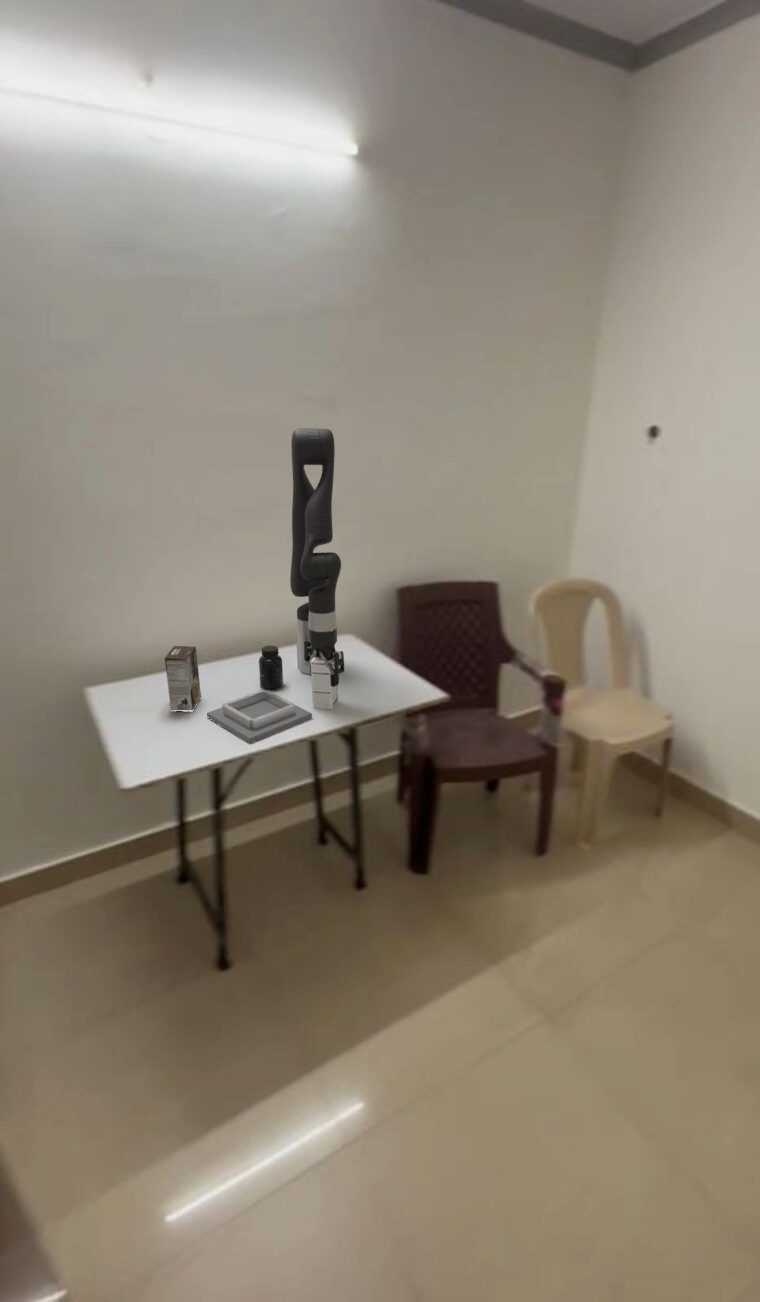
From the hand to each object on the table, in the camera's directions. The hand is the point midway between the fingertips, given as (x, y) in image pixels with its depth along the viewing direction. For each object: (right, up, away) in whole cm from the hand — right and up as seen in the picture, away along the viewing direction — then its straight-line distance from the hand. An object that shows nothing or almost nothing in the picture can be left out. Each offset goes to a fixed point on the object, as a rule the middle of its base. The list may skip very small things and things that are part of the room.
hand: (324, 681), depth 201 cm
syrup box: (0, -7, +3) cm, 7 cm away
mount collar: (-17, -8, -5) cm, 20 cm away
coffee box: (-39, -7, +3) cm, 40 cm away
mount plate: (-17, -10, -5) cm, 20 cm away
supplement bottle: (-17, -2, +15) cm, 23 cm away
